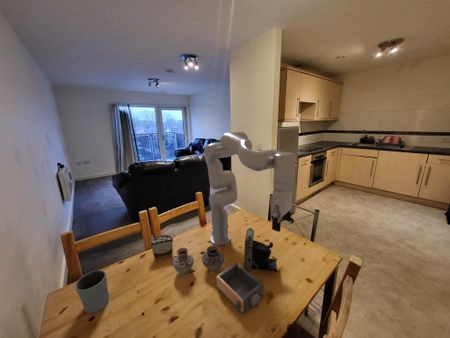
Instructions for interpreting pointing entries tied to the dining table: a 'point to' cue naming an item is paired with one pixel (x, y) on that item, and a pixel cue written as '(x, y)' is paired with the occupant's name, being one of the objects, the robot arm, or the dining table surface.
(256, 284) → the grey open drawer box
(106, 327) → the dining table surface
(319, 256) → the dining table surface
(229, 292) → the door
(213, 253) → the pottery
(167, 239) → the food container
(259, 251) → the vintage camera
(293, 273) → the dining table surface
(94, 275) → the grey green cup
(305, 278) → the dining table surface
